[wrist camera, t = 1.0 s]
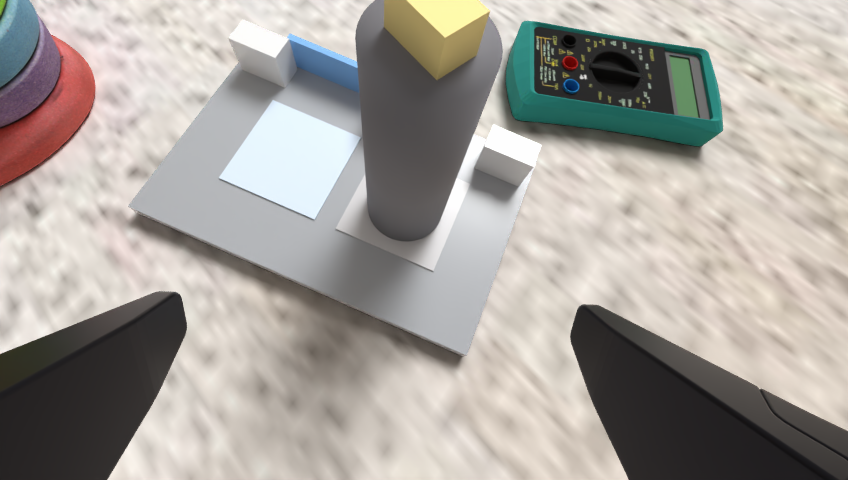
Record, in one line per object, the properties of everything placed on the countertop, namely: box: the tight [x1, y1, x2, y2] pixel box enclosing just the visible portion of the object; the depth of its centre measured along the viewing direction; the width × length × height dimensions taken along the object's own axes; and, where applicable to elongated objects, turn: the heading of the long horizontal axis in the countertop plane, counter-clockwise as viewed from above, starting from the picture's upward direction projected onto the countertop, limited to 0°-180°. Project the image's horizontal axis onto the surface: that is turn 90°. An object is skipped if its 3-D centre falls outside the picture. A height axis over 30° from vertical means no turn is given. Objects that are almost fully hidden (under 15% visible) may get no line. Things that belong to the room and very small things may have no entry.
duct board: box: [128, 20, 541, 356], centre depth 22 cm, size 20×13×4 cm, turn 67°
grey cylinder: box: [355, 0, 503, 241], centre depth 17 cm, size 4×4×14 cm
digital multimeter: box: [506, 21, 723, 147], centre depth 28 cm, size 7×15×3 cm, turn 84°
